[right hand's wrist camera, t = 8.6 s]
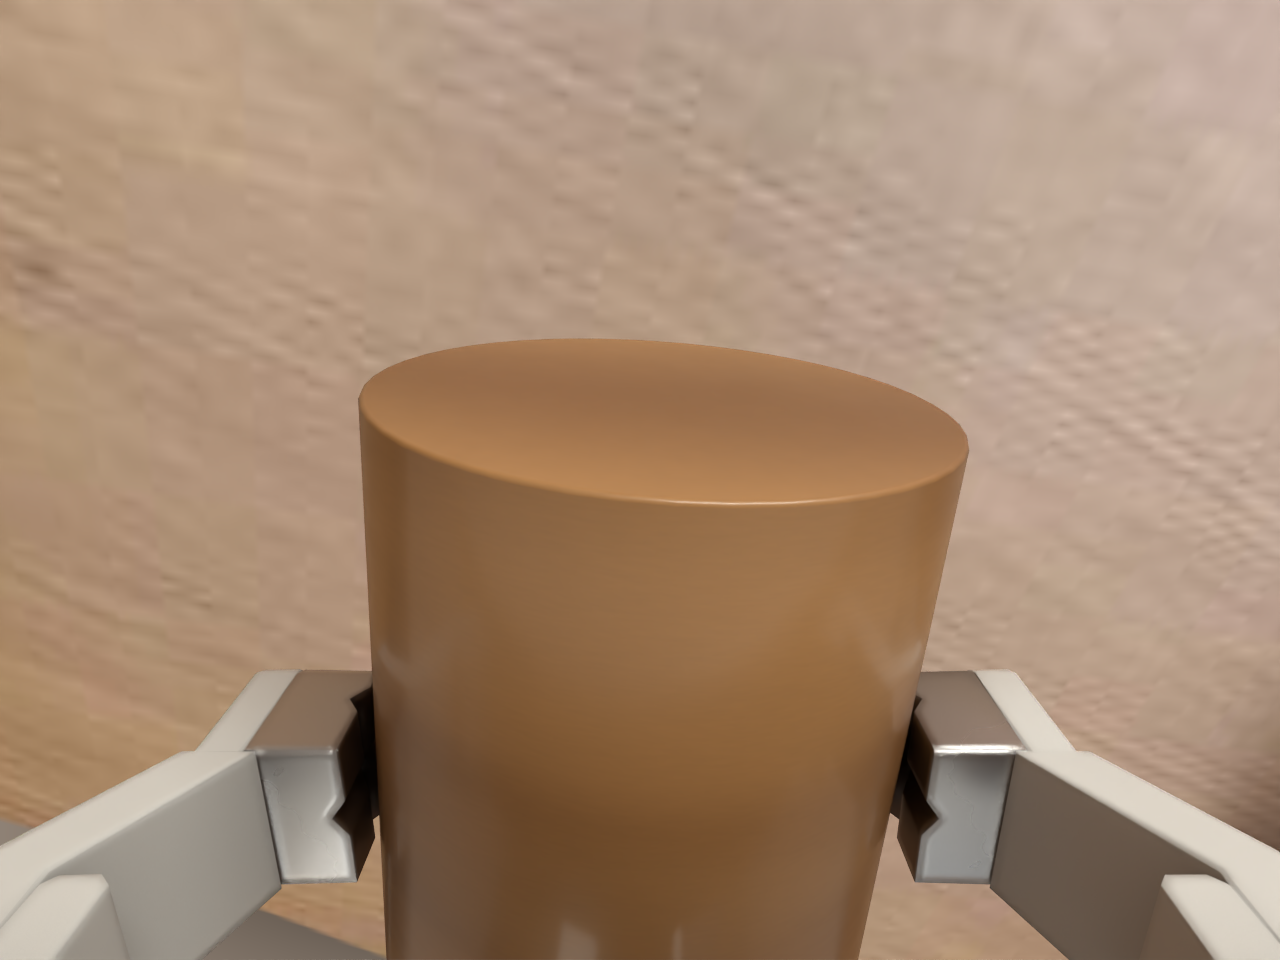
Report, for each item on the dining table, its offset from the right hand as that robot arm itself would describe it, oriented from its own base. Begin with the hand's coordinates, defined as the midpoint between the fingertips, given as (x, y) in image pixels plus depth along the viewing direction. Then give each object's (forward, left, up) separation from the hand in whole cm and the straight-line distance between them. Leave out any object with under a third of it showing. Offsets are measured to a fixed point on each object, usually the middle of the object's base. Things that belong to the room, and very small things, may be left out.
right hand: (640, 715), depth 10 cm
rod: (0, +7, -3) cm, 8 cm away
